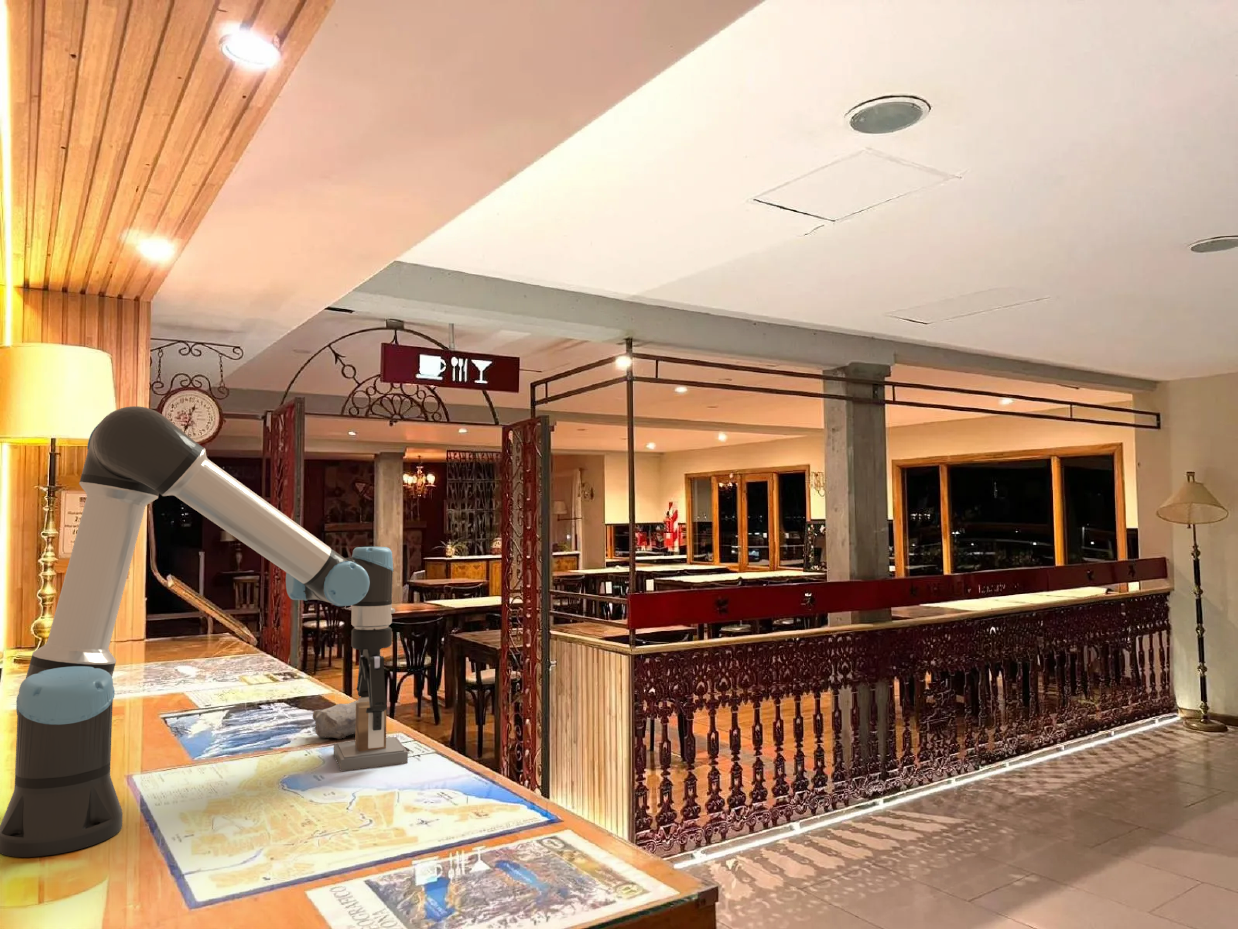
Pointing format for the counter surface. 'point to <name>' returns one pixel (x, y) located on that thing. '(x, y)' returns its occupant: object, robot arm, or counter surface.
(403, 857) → the counter surface
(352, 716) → the stone
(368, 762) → the board
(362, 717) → the block
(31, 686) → the robot arm
